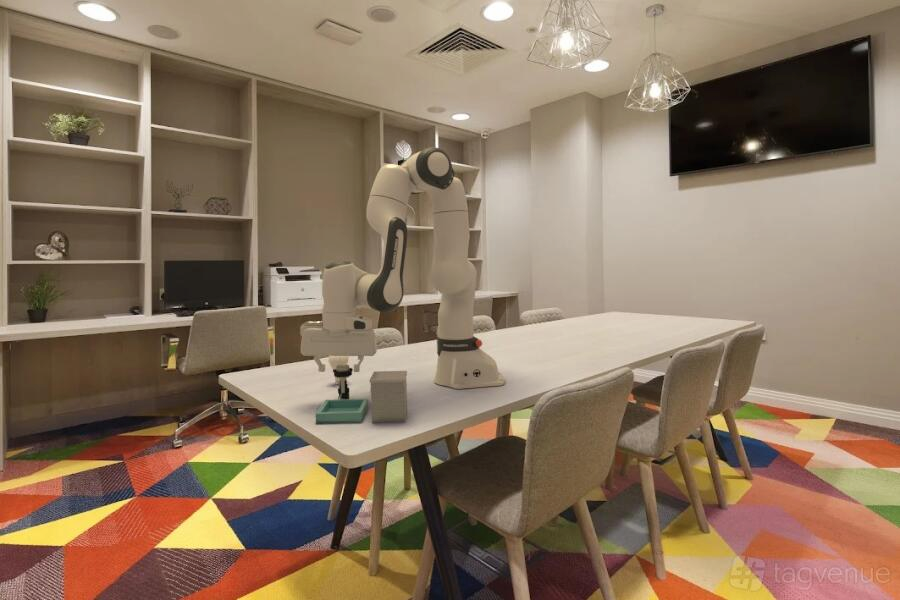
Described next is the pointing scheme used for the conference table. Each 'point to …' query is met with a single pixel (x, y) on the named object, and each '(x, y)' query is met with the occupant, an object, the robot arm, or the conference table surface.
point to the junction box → (388, 396)
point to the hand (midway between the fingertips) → (339, 371)
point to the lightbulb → (338, 363)
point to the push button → (343, 380)
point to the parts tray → (342, 411)
